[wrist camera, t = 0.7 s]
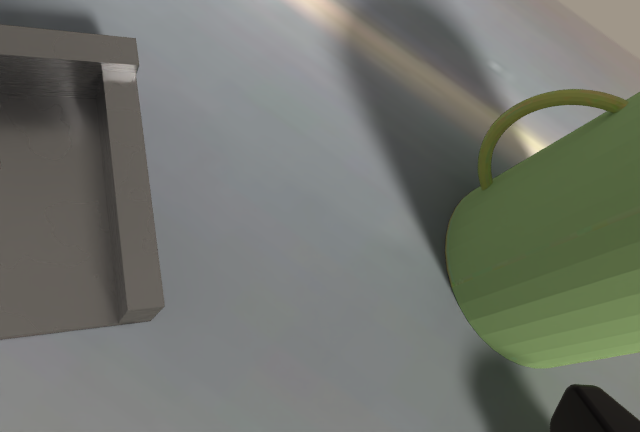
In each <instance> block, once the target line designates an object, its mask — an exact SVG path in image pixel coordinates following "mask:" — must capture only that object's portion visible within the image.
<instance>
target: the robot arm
mask: <svg viewBox="0 0 640 432" xmlns="http://www.w3.org/2000/svg"><path fill="white" fill-rule="evenodd" d="M550 432H640V420H638V419H637V418H636V417H635V416H634V415H632V414H631V413H630V412H629V411H627V410H626V409H625V408H624V407H623V406H621V405H620V404H619V403H618V402H617V401H615V400H614V399H613V398H612V397H611V396H609V395H608V394H607V393H606V392H604V391H603V390H602V389H600V388H599V387H597V386H593V385H577V384H574V385H570V386H569V387H568V388H567V389H566V390H565V392H564V394H563V396H562V398H561V400H560V402H559V404H558V406H557V408H556V410H555V412H554V414H553V416H552V418H551V422H550Z"/></svg>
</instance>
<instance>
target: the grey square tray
mask: <svg viewBox="0 0 640 432" xmlns="http://www.w3.org/2000/svg"><path fill="white" fill-rule="evenodd" d="M138 68H139V60H138V52H137V44H136V38H127V37H117V36H108V35H98V34H88V33H78V32H69V31H59V30H49V29H39V28H30V27H20V26H10V25H0V340H3V339H11V338H19V337H27V336H35V335H43V334H51V333H59V332H67V331H75V330H83V329H91V328H99V327H107V326H115V325H123V324H132V323H140V322H148V321H151V320H152V319H153V318H154V317H155V316H156V315H157V314H158V313H159V312H160V311H161V310H162V309H163V308H164V307H165V305H164V297H163V289H162V281H161V273H160V265H159V257H158V249H157V241H156V233H155V225H154V217H153V209H152V201H151V193H150V185H149V177H148V169H147V160H146V152H145V144H144V136H143V128H142V120H141V112H140V104H139V96H138V88H137V80H136V74H137V71H138Z"/></svg>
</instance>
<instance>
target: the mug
mask: <svg viewBox="0 0 640 432" xmlns="http://www.w3.org/2000/svg"><path fill="white" fill-rule="evenodd" d="M559 105H583V106H590V107H596V108H600V109H603V110H606V111H607V112H605V113H603V114H602V115H600V116H598V117H597V118H595V119H593V120H592V121H590V122H588V123H586V124H585V125H583V126H581V127H580V128H578V129H576V130H575V131H573V132H571V133H570V134H568V135H566V136H564V137H563V138H561V139H559V140H558V141H556V142H554V143H553V144H551V145H549V146H548V147H546V148H544V149H542V150H541V151H539V152H537V153H536V154H534V155H532V156H531V157H529V158H527V159H526V160H524V161H522V162H521V163H519V164H517V165H515V166H514V167H512V168H510V169H509V170H507V171H505V172H504V173H502V174H500V175H499V176H497V177H495V178H493V179H492V174H491V159H492V154H493V150H494V148H495V145H496V143H497V141H498V140H499V138H500V137H501V135H502V134H503V133H504V132H505V130H506V129H507V128H508V127H509V126H511V125H512V124H513V123H514V122H516V121H517V120H518V119H520V118H522V117H523V116H525V115H527V114H529V113H531V112H534V111H537V110H540V109H543V108H547V107H552V106H559ZM478 176H479V181H480V187H478V188H477V189H475V190H473V191H471V192H470V193H469V194H468V195H467V196H465V197H464V198H463V199H462V200H461V201H460V203H459V204H458V205H457V207H456V208H455V209H454V212H453V214H452V216H451V218H450V221H449V224H448V229H447V233H446V243H445V256H446V266H447V272H448V276H449V280H450V283H451V287H452V290H453V292H454V295H455V297H456V300H457V302H458V305H459V306H460V308H461V310H462V312H463V313H464V315H465V317H466V319H467V320H468V322H469V323H470V325H471V326H472V327H473V328H474V330H475V331H476V332H477V334H478V335H479V336H480V337H481V338H482V339H483V340H484V341H485V342H486V343H487V344H488V345H489V346H490V347H491V348H492V349H493V350H495V351H496V352H498V353H499V354H501V355H502V356H503V357H505V358H506V359H508V360H511V361H513V362H515V363H517V364H519V365H522V366H527V367H531V368H552V367H557V366H563V365H569V364H575V363H580V362H586V361H592V360H598V359H603V358H609V357H615V356H620V355H626V354H632V353H638V352H640V92H639V93H637V94H635V95H634V96H632V97H630V98H629V99H627V100H624V99H622V98H620V97H617V96H614V95H611V94H607V93H603V92H599V91H593V90H583V89H568V90H558V91H552V92H547V93H543V94H540V95H537V96H534V97H531V98H529V99H526V100H524V101H522V102H520V103H518V104H516V105H515V106H513V107H512V108H510V109H509V110H507V111H506V112H505V113H503V114H502V115H501V116H500V117H499V118H498V119H497V120H496V121H495V122H494V123H493V125H492V126H491V127H490V129H489V130H488V132H487V134H486V136H485V137H484V140H483V142H482V145H481V148H480V152H479V157H478Z"/></svg>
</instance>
